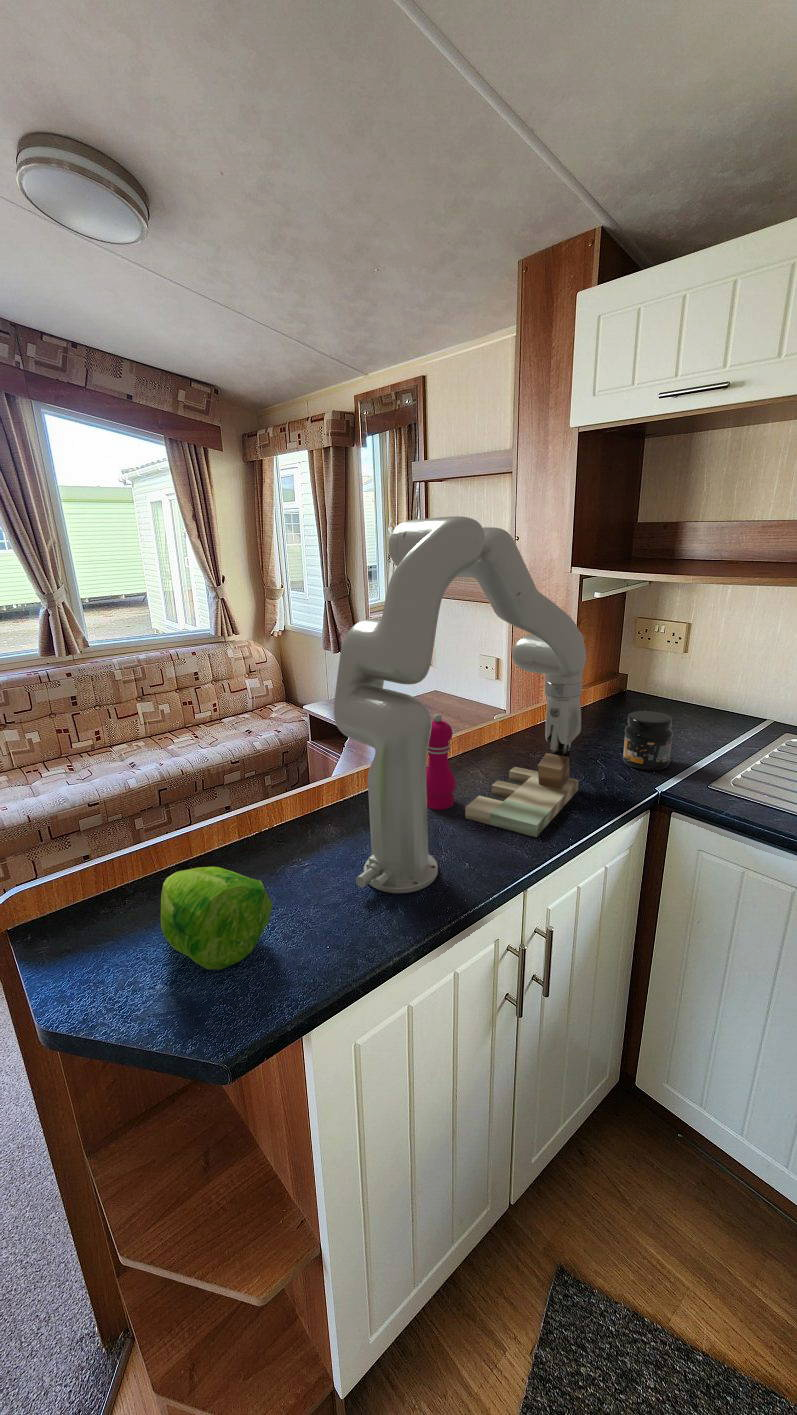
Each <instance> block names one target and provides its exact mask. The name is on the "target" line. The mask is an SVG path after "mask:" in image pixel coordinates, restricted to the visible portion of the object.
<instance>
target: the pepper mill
mask: <svg viewBox="0 0 797 1415" xmlns="http://www.w3.org/2000/svg"><path fill="white" fill-rule="evenodd" d="M431 721H432V728H431V735H430V740H429V745H428V752H427V756H428V763H427V766H426V785H427V809H428V808H429V809H430V810H438V811H439V810H446V809H449V808H451V807H453V805H454V804H455V803H454V801H455V800H454V796H455V795H454V794H453V792H454V791H455V790H456V787H457V784H456V779H455V775H454V773H453V771H452V769H451V766H450V764H449V752H450V751H451V748H450V747H451V743H450V741H451V740H452V738H453V729H452V727H451V725H450V724H449V723H448V722H447V721H444V720H443V718H442V715H441V714H439V713H435V714H434V715H433V718H432V720H431Z"/></svg>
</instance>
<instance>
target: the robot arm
mask: <svg viewBox="0 0 797 1415" xmlns="http://www.w3.org/2000/svg"><path fill="white" fill-rule="evenodd" d="M388 553H389V556H390V559H391V561H392V562H393V564H394V565H395V566H396V567H395V569H394V571H393V573H392V575H391V577H390V580H389V582H388V586H387V590H386V593H385V598H384V604H383V609H382V615H381V619H378V618H368V619H367V618H366V619H362V620H360V621H358V622H356V623H355V624H354V625H353V626H352V627H351V628H350V629H349V630H348V632H347V633H346V635H345V637H344V639H343V641H342V644H341V648H340V652H339V653H340V654H339V662H338V669H337V675H336V684H335V690H334V691H335V692H334V701H333V717H334V722H335V725H336V727H337V729H338V730H339V731H340V732H341V734H343V735H344V736H345V737H347V738H350V739H352V740H354V741H357V742H359V743H362V744H364V745H367V746H369V747H371V748H373V749H374V750H375V751H374V752H375V754H374V757H373V759H372V761H371V763H370V766H369V769H368V773H367V791H368V807H369V808H368V809H369V825H370V827H369V829H370V845H371V855H370V856H369V857H368V859H367V860H366V861H365V864H364V865H363V872H362V873H360V874H359V875H358V876H356V878H355V883H356V885H357V886H358V887H359V888H365V887H366V886H367V885H370V887H373V888H375V889H376V890H379V891H380V892H381V891H382V892H384V893H390V894H408V893H413V892H417V891H421V890H422V889H425V888H426V887H429V886H430V885H431V884H433V882H435V880H436V878H437V876H438V873H439V872H438V871H439V870H438V868H439V867H438V862H437V860H436V859H435V858H434V856H432V855H431V854H429V837H428V836H429V835H428V834H429V833H428V832H429V829H428V827H429V826H428V807H427V785H426V769H427V765H428V763H427V758H428V745H429V740H430V735H431V728H432V721H433V720H432V716H431V713H430V711H429V709H428V708H427V706H426V705H425V704H424V703H423V702H422V701H421V700H420V699H418V698H417V697H414V696H412V695H409V694H407V693H403V692H399V691H396V690H391V689H388V688H387V689H386V688H384V683H385V682H390V683H395V684H400V685H415V684H418V683H421V682H422V681H424V680H425V678H427V676H428V674H429V671H430V667H431V665H432V659H433V653H434V647H435V639H436V633H437V628H438V627H437V626H438V620H439V614H440V608H441V605H442V604H441V603H442V600H443V598H444V595H445V593H446V591H447V589H448V588H449V587H450V585H451V583H452V582H453V581H455V579H456V578H473V579H475V580H476V581H477V583H478V584H479V586H480V588H481V590H482V591H483V593H484V595H485V597H486V599H487V600H488V602H489V604H490V606H491V608H492V610H493V612H494V613H495V615H496V616H497V617H498V618H499V619H501V620H502V621H504V622H506V623H508V624H510V625H511V626H513V627H515V628H517V629H520V630H523V631H525V632H527V633H530V634H528V635H525V636H522V637H521V638H519V639H518V640H517V641H516V642H515V644H514V645H513V648H512V654H511V655H512V660H513V663H514V664H515V666H516V667H518V669H520V670H523V671H525V672H529V673H533V674H534V673H535V674H542V675H545V676H544V696H545V697H546V698H547V703H546V711H545V724H544V725H545V727H544V729H545V731H544V732H545V733H544V735H545V741H546V742H547V743H550V746H549V747H550V751H552V754H555V755H560V756H565V757H569V765H570V763H571V761H570V757H571V756H570V755H571V751H570V750H571V744H572V742H573V741H574V740H575V739H576V738H577V737H578V736H579V735H580V733H581V730H582V706H581V703H582V701H581V697H582V696H583V695H582V693H583V670H584V668H585V666H586V661H587V652H586V651H587V650H586V646H585V642H584V640H585V639H584V635H583V633H582V632H581V631H580V630H579V628H578V626H577V623H576V622H575V621H574V619H573V618H572V617H571V616H570V615H569V614H568V613H567V612H566V611H564V610H563V609H562V608H561V607H559V605H557V604H556V602H555V603H554V602H553V601H552V599H550V598H549V597H547V596H546V595H544V594H542V593H541V592H540V591H539V590H538V589H537V587H536V585H535V582H534V579H533V578H532V576H531V574H530V572H529V569H528V567H527V566H526V565H527V564H526V563H525V561H524V558H523V556H522V555H521V552H520V550H519V548H518V546H517V544H516V542H515V540H514V538H513V536H512V535H511V534H510V533H509V532H508V531H507V530H505V529H503V528H500V527H496V526H494V527H492V526H491V527H489V526H488V527H487V526H486V527H485V526H482V525H481V523H480V522H479V521H477V520H475V519H474V518H471V517H467V516H458V515H457V516H440V517H432V518H430V517H429V518H418V519H410V520H409V519H408V520H405V521H402V522H401V523H399V524H398V525H396V527H395V528H394V529H393V531H392V532H391V534H390V536H389V539H388Z"/></svg>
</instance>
